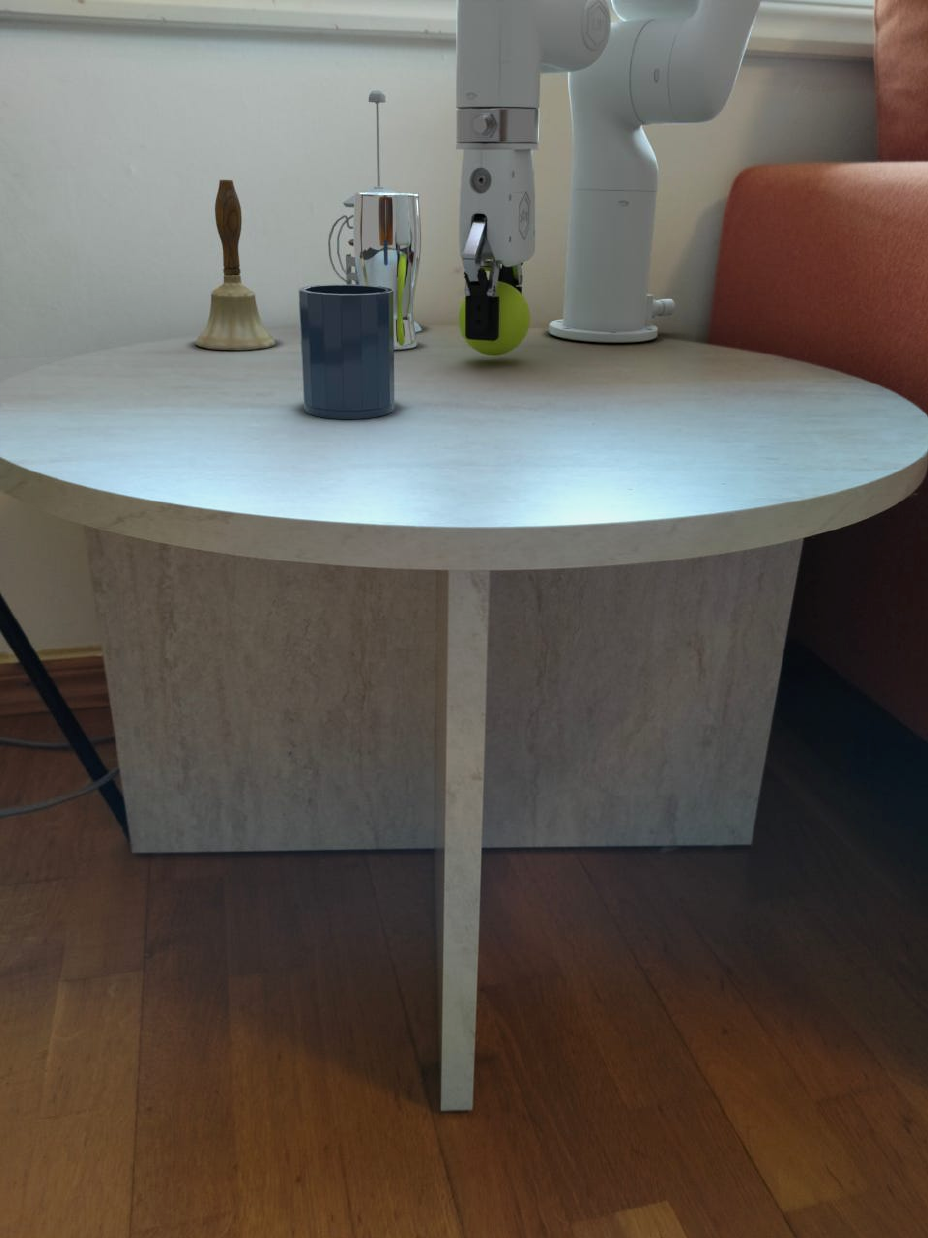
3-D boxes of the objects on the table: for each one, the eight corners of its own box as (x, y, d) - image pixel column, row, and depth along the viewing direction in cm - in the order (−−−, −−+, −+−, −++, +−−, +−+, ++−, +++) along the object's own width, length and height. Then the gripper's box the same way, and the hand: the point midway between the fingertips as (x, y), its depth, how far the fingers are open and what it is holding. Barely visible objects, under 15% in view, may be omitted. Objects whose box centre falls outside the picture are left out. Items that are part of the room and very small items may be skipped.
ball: (501, 346, 103) (502, 275, 100) (542, 356, 97) (545, 282, 94) (445, 352, 99) (444, 279, 96) (484, 364, 94) (486, 287, 91)
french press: (391, 337, 111) (388, 85, 100) (309, 328, 116) (299, 87, 106) (437, 327, 118) (439, 92, 108) (359, 319, 124) (353, 94, 113)
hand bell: (288, 340, 107) (280, 180, 101) (255, 352, 100) (244, 180, 93) (218, 336, 109) (206, 178, 102) (181, 347, 102) (165, 178, 95)
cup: (366, 396, 82) (364, 282, 78) (410, 412, 77) (410, 292, 73) (289, 405, 78) (283, 286, 75) (329, 423, 73) (325, 296, 69)
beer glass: (411, 352, 102) (411, 194, 96) (347, 348, 103) (342, 193, 97) (427, 342, 108) (428, 193, 102) (366, 339, 109) (363, 192, 103)
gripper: (509, 130, 81) (504, 351, 89) (560, 133, 96) (552, 321, 104) (424, 130, 83) (427, 345, 91) (487, 133, 98) (484, 317, 106)
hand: (493, 331), depth 97 cm, fingers closed on ball, 6 cm apart
